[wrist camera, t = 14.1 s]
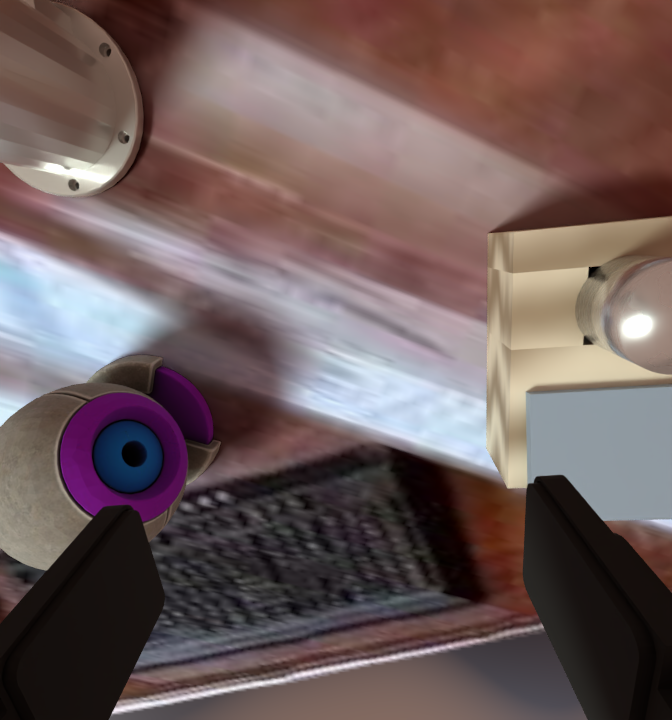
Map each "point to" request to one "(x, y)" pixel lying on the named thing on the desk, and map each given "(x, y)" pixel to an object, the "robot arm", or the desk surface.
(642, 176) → the desk surface
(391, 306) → the desk surface
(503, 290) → the block
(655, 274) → the light bulb
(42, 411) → the webcam
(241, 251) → the desk surface
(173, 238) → the desk surface
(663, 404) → the plate
